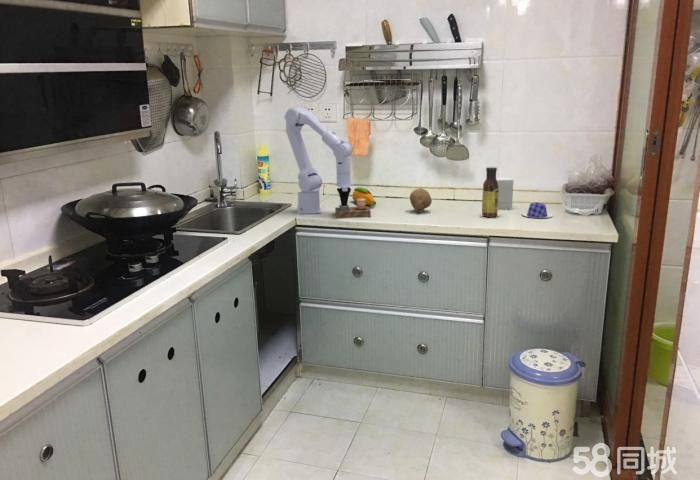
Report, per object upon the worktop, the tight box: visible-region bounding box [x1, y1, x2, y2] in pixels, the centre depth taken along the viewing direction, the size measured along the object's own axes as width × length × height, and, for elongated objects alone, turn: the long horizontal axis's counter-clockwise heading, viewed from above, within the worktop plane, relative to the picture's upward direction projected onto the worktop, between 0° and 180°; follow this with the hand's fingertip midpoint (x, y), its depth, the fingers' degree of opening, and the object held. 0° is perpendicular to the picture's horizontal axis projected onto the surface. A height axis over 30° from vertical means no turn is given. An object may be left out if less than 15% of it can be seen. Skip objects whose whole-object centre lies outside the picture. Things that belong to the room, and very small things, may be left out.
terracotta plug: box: [356, 198, 366, 210], centre depth 244 cm, size 4×4×4 cm
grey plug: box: [339, 204, 350, 211], centre depth 244 cm, size 4×4×4 cm
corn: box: [352, 186, 377, 206], centre depth 264 cm, size 7×8×20 cm
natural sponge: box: [409, 187, 433, 213], centre depth 248 cm, size 9×9×10 cm
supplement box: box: [496, 176, 514, 210], centre depth 253 cm, size 7×7×13 cm
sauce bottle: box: [481, 166, 499, 218], centre depth 237 cm, size 6×6×20 cm
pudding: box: [521, 202, 553, 219], centre depth 238 cm, size 12×12×5 cm
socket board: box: [334, 206, 372, 219], centre depth 245 cm, size 14×9×2 cm, turn 94°
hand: (344, 205), depth 244 cm, fingers closed, pressing on grey plug
